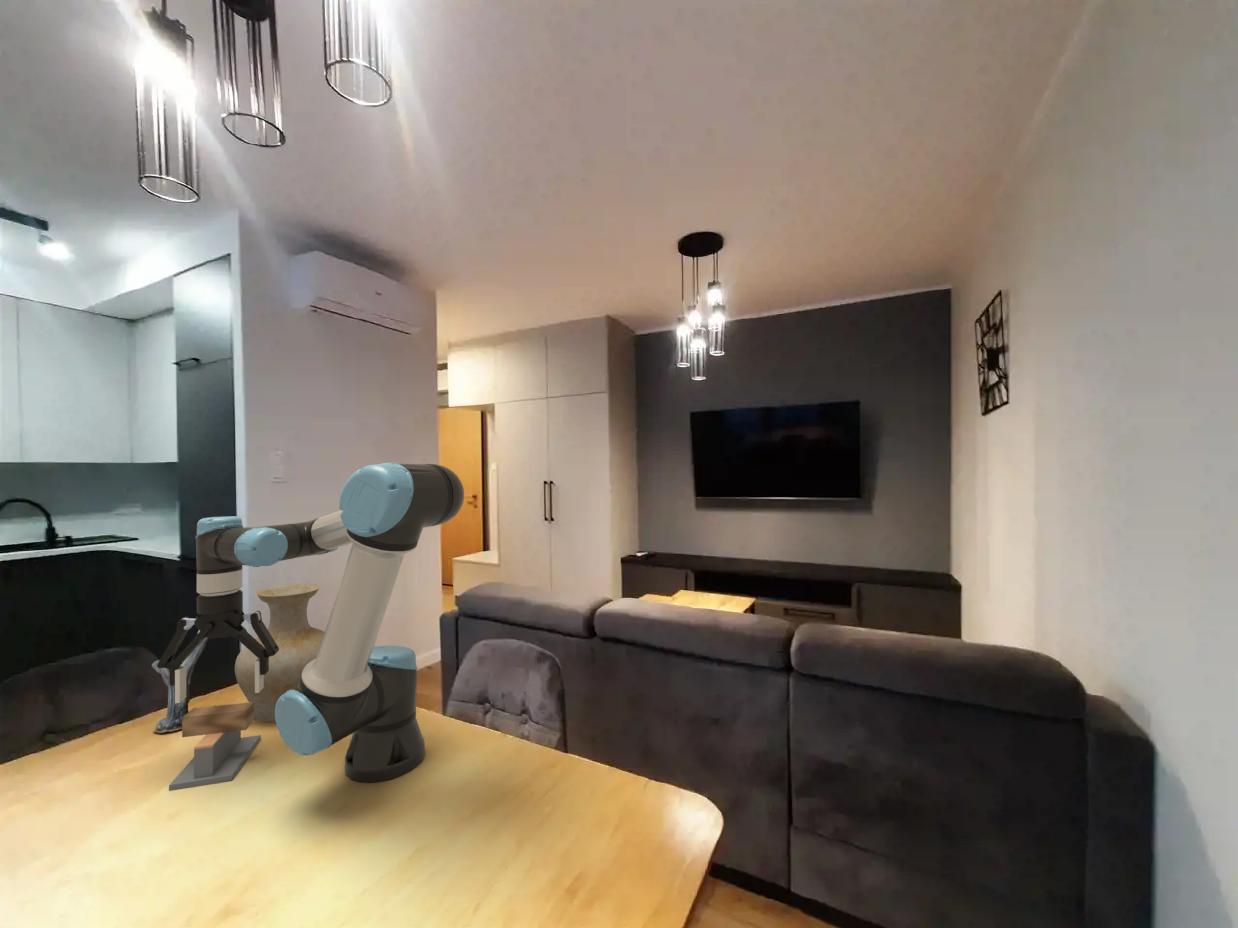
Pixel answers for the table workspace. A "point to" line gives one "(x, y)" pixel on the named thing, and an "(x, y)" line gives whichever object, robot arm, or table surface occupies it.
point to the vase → (281, 648)
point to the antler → (174, 709)
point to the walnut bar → (217, 719)
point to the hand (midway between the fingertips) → (220, 695)
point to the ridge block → (216, 759)
